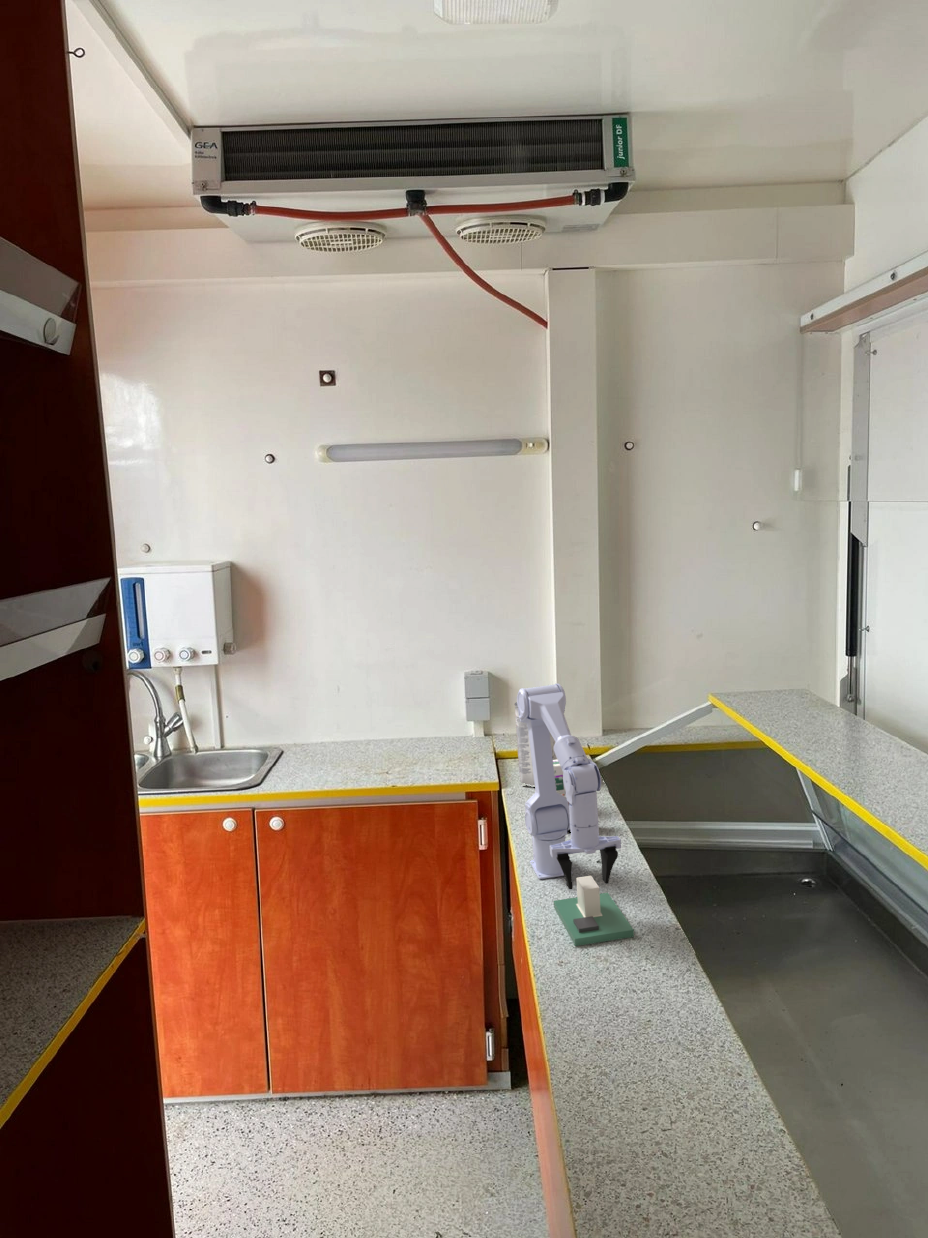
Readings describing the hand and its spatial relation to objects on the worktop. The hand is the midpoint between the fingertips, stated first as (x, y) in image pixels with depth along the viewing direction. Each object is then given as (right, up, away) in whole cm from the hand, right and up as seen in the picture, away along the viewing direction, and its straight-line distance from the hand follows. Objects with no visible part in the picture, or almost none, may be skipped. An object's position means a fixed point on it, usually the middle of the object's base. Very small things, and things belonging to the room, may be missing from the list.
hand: (587, 884), depth 181 cm
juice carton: (-3, +6, +79) cm, 79 cm away
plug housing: (0, -5, +1) cm, 6 cm away
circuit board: (+1, -7, -1) cm, 7 cm away
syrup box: (0, +2, +56) cm, 56 cm away
